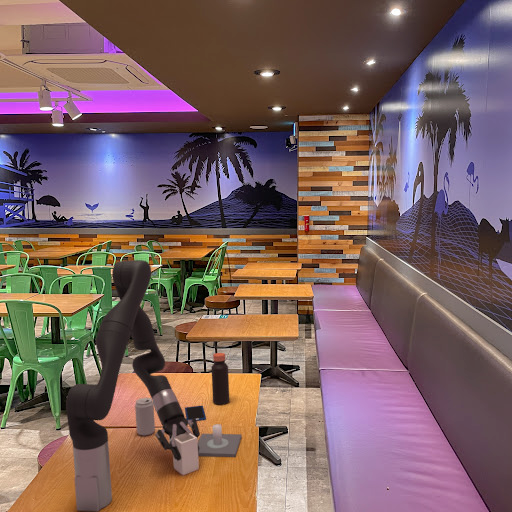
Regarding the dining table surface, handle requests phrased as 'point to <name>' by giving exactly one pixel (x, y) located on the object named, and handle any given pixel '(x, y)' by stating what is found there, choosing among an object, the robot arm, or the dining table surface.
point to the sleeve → (186, 453)
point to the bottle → (220, 380)
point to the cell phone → (195, 413)
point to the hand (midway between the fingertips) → (188, 455)
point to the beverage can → (145, 416)
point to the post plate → (220, 451)
